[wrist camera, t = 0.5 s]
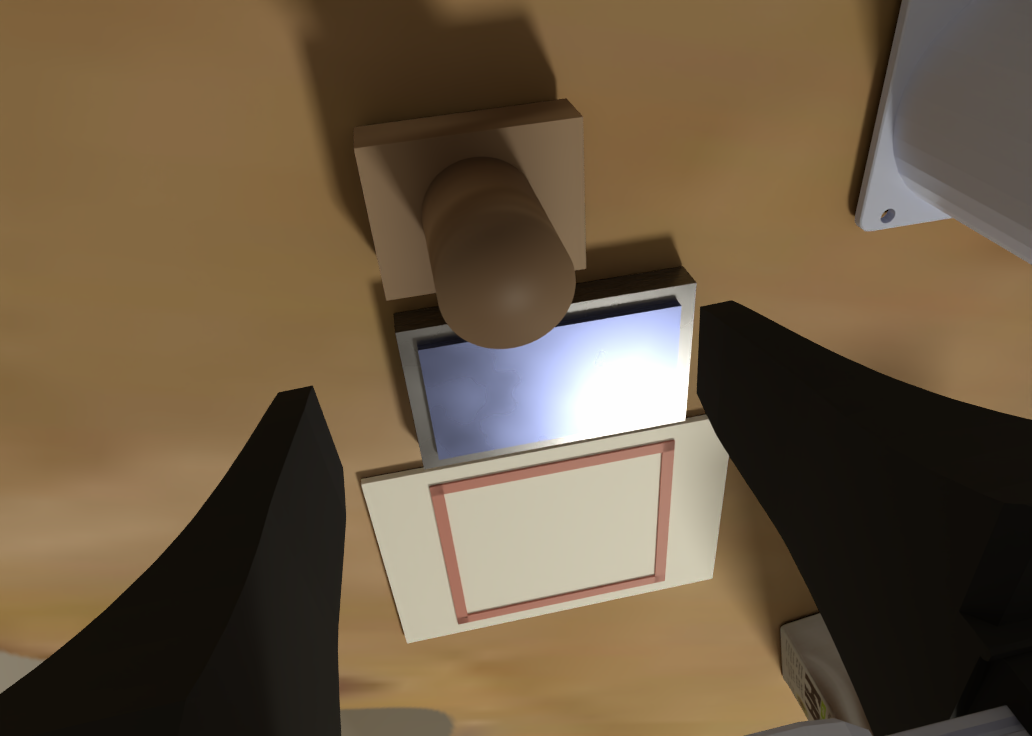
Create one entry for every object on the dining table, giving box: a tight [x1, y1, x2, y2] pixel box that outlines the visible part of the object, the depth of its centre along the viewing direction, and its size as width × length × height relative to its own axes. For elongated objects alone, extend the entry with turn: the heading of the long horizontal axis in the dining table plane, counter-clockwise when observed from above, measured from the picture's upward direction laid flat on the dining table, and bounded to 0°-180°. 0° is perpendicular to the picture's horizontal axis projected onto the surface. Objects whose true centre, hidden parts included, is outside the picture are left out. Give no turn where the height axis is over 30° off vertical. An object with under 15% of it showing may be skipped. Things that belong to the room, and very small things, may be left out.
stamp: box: [354, 99, 586, 349], centre depth 19 cm, size 6×4×7 cm
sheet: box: [361, 415, 729, 643], centre depth 31 cm, size 15×10×1 cm
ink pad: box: [394, 266, 696, 469], centre depth 25 cm, size 10×6×2 cm, turn 94°
